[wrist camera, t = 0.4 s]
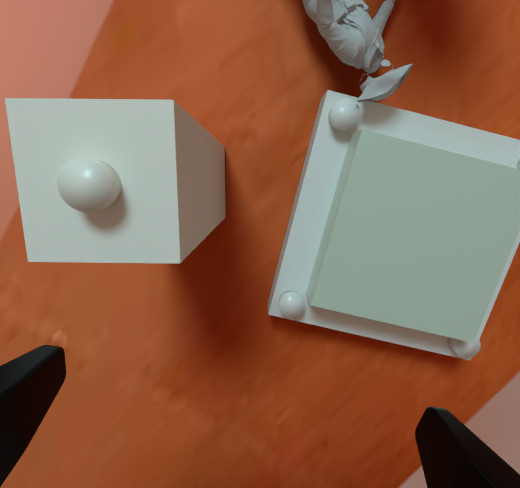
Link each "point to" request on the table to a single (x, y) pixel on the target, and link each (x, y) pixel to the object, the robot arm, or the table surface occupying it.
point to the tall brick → (114, 179)
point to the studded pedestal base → (399, 227)
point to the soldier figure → (358, 41)
